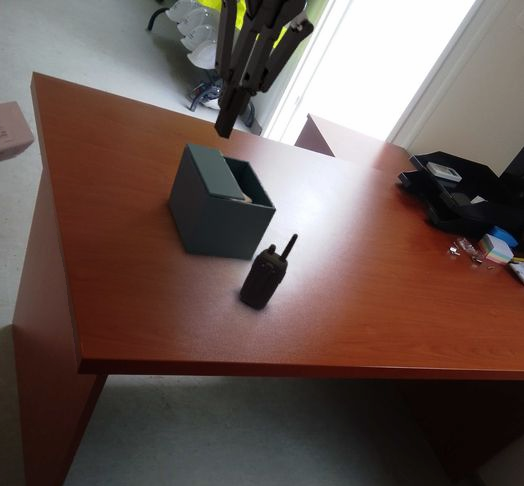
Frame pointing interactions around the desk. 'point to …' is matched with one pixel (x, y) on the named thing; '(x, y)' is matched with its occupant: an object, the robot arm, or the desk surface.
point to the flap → (215, 172)
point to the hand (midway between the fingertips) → (221, 132)
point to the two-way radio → (265, 275)
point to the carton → (220, 211)
